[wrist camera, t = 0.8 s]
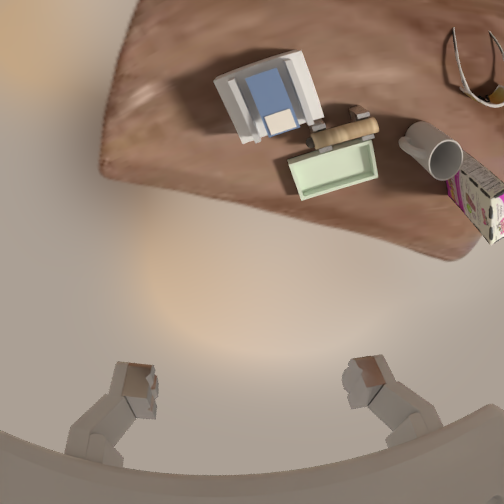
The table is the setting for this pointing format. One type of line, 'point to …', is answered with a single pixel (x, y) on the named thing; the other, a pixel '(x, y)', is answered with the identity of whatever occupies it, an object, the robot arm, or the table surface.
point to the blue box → (272, 102)
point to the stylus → (342, 133)
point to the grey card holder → (244, 105)
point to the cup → (432, 150)
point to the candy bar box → (479, 197)
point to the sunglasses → (496, 99)
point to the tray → (333, 168)
